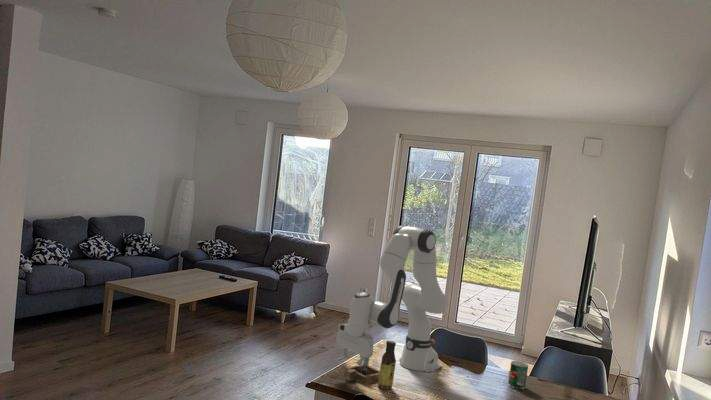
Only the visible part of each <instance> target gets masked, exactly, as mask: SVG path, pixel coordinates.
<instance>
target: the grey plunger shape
mask: <svg viewBox="0 0 711 400" xmlns="http://www.w3.org/2000/svg"><path fill="white" fill-rule="evenodd" d="M369 362H370V357H369V358H366V357H365V359H364V360H363V362H362V365H363V368H362V372H360V374H362V375H364V376H366V375H369V374H368V373H367V371H368V366H369V364H370V363H369Z"/></svg>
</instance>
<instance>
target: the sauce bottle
mask: <svg viewBox="0 0 711 400" xmlns="http://www.w3.org/2000/svg"><path fill="white" fill-rule="evenodd" d="M385 344H386V345H385V352H384V353H383V354H382V355H381V362H380V366H379V368H380V369H379V371H380V373H379V381H377V382H378V384H377V386H378V388H379V389H382V390H391V389H392V388H393V384H394V377H395V372H396V371H395V370H396V363H397V359H396V355H395V354H396V353H395V351H396V350H395V349H396V348H395V347H396V345H397V343H396V341H393V340H386V343H385Z"/></svg>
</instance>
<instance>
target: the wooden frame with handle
mask: <svg viewBox="0 0 711 400" xmlns="http://www.w3.org/2000/svg"><path fill="white" fill-rule="evenodd" d="M362 368H363V364H362V365H358V364H357V365H352V366H347V367H345V369H344V375H345V380H346V381H348V382H351V381H352V380H353V381H357V380H358V381H357V382H359V383H361V384H363V385H365V383H366V384H370V383H375V382H378V381H379V373H380V369H379V370H378V369H377V368H374V367H372V366H369V365H368V371H367V374H368V375H366V376H364V375H362V374H360V373H362ZM353 381H352V382H353Z"/></svg>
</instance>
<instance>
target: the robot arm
mask: <svg viewBox="0 0 711 400" xmlns="http://www.w3.org/2000/svg"><path fill="white" fill-rule="evenodd" d="M436 245H437V238H436V235H435V233H434V231H431V230H430V229H425V228H421V227H418V226H407V225H399V226H397V227H396V228H395V229H394V231H393V234H392V236H391V237H390V239H389V240H388V242H387V243H386V246H385V248H384V250H383V253H382V255H381V257H380V260H379V266H380V269H381V271H382V273H383V274H384V275H385V276H386V277H387V278H389V279H390V282H391V287H390V288H391V289H390V292H389V297H388V301H387V302H386V303H385V302H382V301H380V300H377V299H375V298H373V297H372V296H371V294H370V293H368V292H364V291H359V292H356V293H354V294H353V296H352V298H351V302H350V305H349V311H348V313H349V318H348V319H347V322H346V323H340V324H339V323H338V330H337V332H336V333H337V334H336V337H335V338H336V339H335V342H336V345H338V346H339V347H341V353H342V358H343V359H347V358H348V355H349V354H348V353H347V350H349V351H350V352H352V353H355V354H356V355H359V359H358V360H357V361H356V364H357V365H363V361H364V359H365V357H366V358H369V359H370V358H371V357H373V355H374V339H373V337H372V335H370V334H368V327H369V322H371V323H373V324H376V325H378V326H380V327H382V328H384V329H390V328H393V327H394V326H396V324H398V321H399V319H400V309H401V305H402V304H401V303H402V302H403V303H404V305H405V308H406V310H407V315H408V329H407V335H406V336H405V344H404V345H403V350H402V353H401V357H399V364H400V365H401V367H404V368H406V369H409V370H413V371H418V372H424V371H425V373H431V372H434V371H435V370H438V369H441V368H442V367H443V364H442V363H441V362H439V354H438V353H437V351H436V350H435V349H434V348H433V347H432V344H433V345H434V344H435V343H436V340H435V339H433V338H431V334H432V327H433V326H432V325H433V324H432V322H431V320H430V319H429V317H428V316H427V313H430V314H438V315H441V314H443V313H444V312H445V311H446V310H447V308H448V305H449V301H448V300H449V299H448V297H447V295H446V294H445V293H444V292H443V291H442V289H441V286H440V285H439V281H438V277H437V251H436ZM410 251H413V259H412V261H413V262H412V266H413V267H412V268H413V269H412V270H413V271H412V275H413V277H414V280H416V282H417V283H418V284H407V285H406V283H407V282H406V280H407V274H406V272H405V266H406V262H407V259H408V258H409V257H408V256H409V253H410ZM440 367H441V368H440ZM433 370H434V371H433ZM430 371H431V372H430Z"/></svg>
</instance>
